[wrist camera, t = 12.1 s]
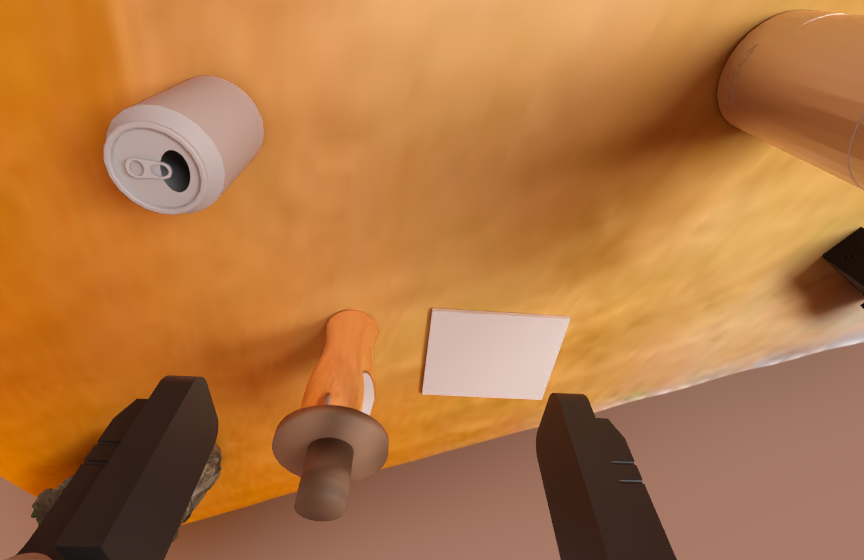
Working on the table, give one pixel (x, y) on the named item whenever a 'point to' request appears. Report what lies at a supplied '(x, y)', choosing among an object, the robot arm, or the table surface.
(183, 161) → the can
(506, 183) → the table surface
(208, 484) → the hollow geode rock
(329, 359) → the beer glass
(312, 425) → the walnut lid
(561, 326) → the white mat
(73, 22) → the table surface
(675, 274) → the table surface
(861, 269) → the digital camera
